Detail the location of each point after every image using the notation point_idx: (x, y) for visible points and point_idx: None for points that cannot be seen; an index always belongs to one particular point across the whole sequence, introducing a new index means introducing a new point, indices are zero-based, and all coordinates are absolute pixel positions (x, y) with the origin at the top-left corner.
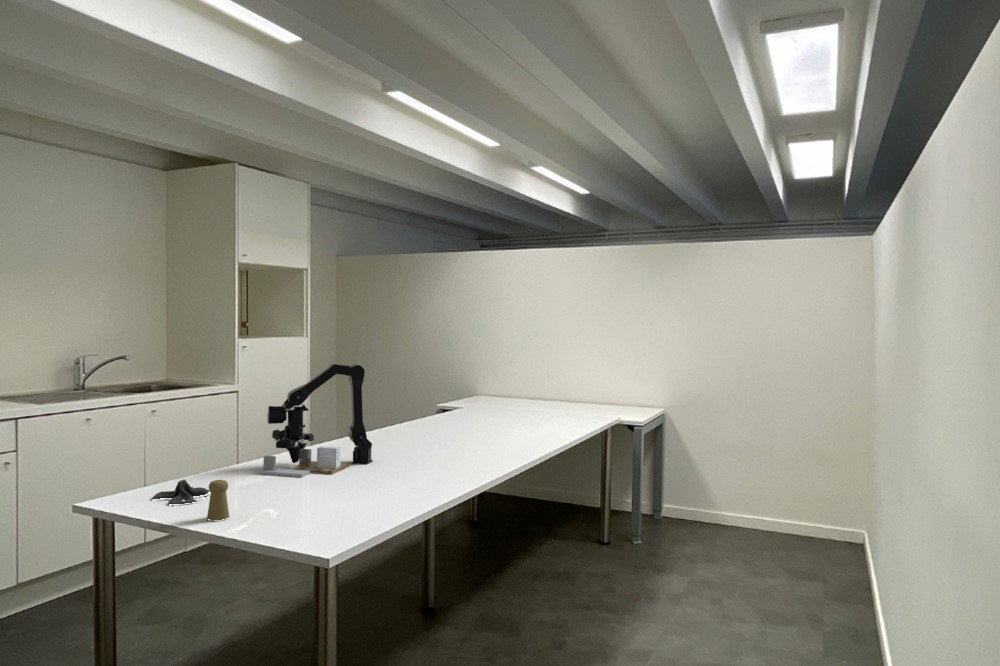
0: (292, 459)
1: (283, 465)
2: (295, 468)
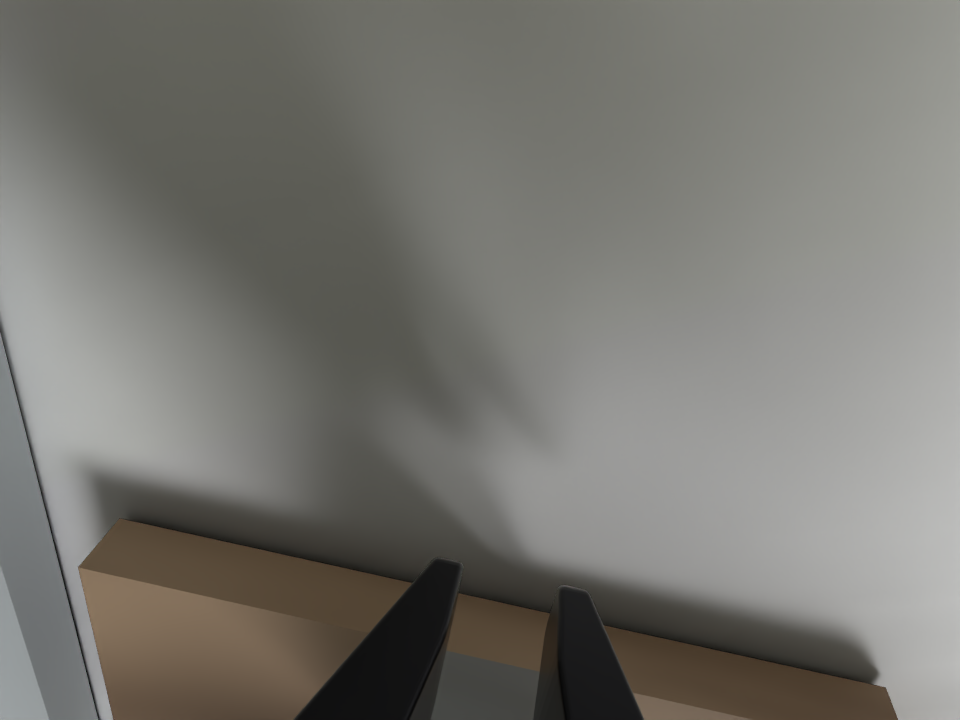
0: (377, 643)
1: (757, 150)
2: (101, 635)
